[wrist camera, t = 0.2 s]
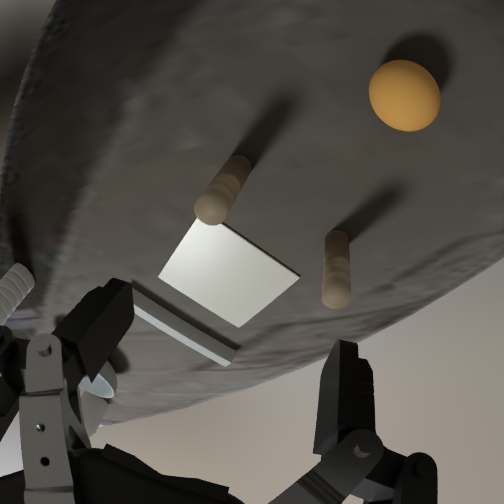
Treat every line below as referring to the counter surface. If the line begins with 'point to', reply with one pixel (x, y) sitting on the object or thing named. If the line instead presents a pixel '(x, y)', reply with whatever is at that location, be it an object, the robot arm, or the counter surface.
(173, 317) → the wall
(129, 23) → the counter surface
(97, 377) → the serving bowl
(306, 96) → the counter surface
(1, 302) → the white pump bottle
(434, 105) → the ball
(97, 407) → the wine bottle
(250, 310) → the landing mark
